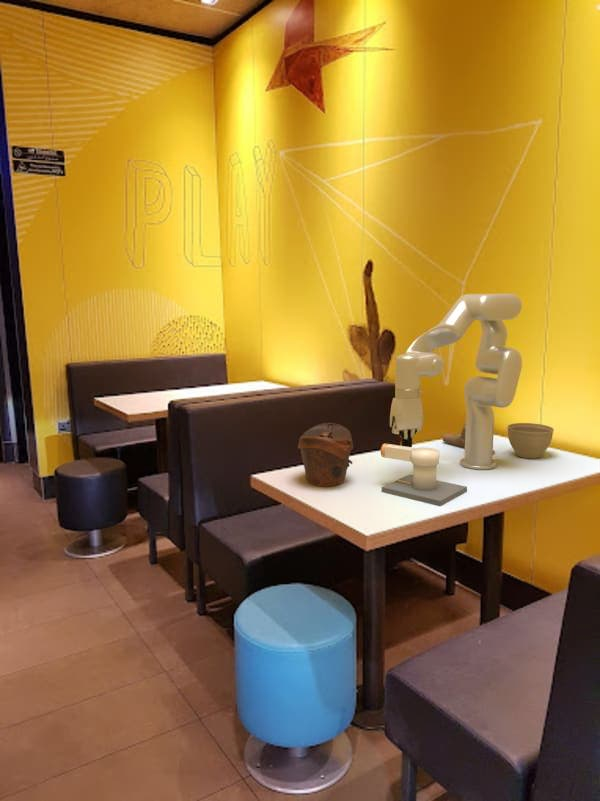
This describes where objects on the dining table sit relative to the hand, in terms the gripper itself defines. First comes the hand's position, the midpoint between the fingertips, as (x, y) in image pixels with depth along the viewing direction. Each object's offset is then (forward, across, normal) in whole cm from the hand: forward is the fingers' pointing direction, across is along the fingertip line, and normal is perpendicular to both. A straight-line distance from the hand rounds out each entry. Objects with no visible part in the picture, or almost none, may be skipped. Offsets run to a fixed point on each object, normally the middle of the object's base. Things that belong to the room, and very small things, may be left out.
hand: (406, 449), depth 191 cm
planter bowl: (+12, -59, -7) cm, 61 cm away
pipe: (+12, -45, -30) cm, 55 cm away
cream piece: (+2, +3, +6) cm, 7 cm away
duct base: (+11, +1, +11) cm, 15 cm away
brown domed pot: (+11, +23, -12) cm, 28 cm away
